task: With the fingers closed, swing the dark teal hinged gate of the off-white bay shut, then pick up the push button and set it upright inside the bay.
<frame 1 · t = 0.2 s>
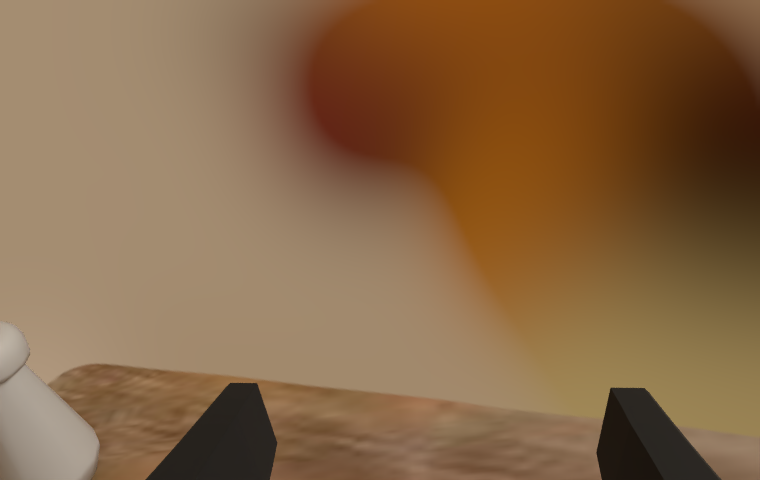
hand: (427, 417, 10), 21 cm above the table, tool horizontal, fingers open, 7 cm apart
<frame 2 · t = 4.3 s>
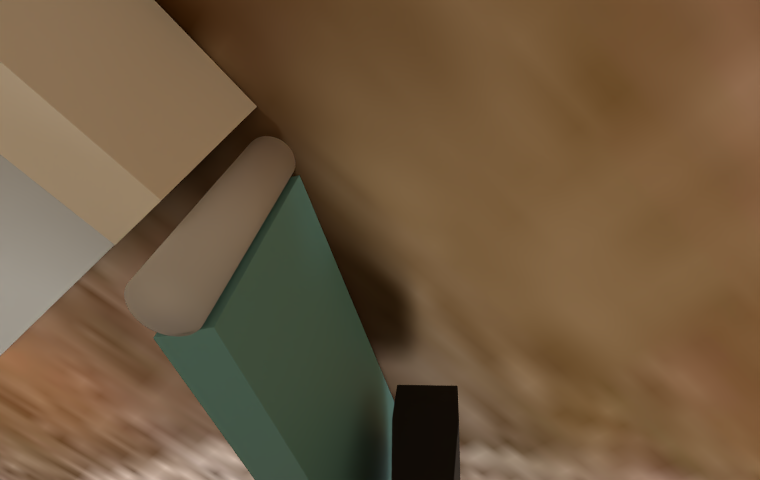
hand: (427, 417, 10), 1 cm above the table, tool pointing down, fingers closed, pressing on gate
gate: (343, 433, 9), point 2 cm above the table, hinge at 65.9°, touching gripper
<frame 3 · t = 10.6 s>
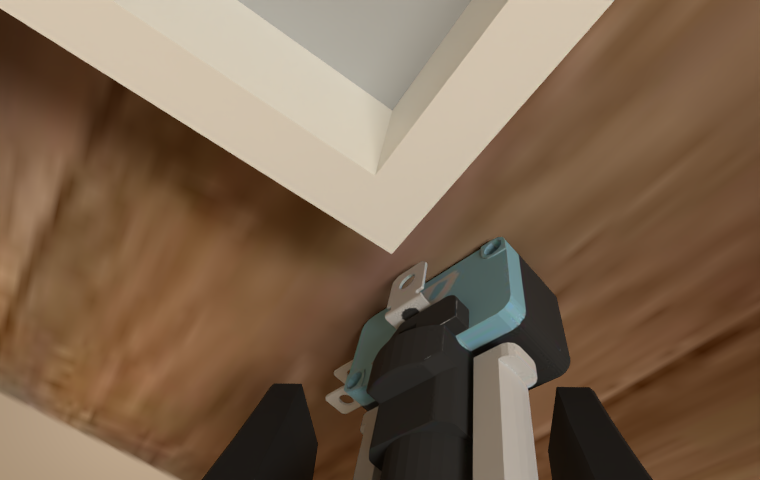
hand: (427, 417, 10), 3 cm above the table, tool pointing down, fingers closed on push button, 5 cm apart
push button: (430, 309, 13), on the table, touching gripper
when the fingers open (5 cm above the table, at t = 14.6 s): push button stays where it is, resting on bay.
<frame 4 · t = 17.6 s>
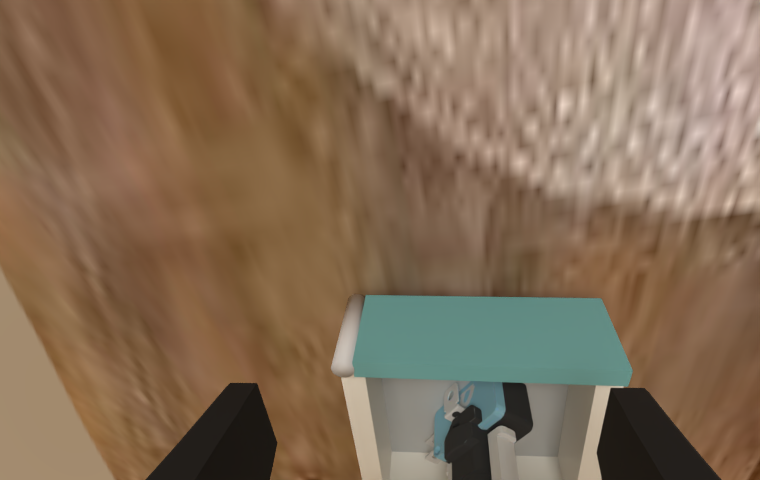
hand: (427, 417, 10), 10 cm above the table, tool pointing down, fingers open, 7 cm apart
gate: (472, 335, 20), point 2 cm above the table, hinge at -2.0°
bay: (472, 386, 25), on the table
push button: (466, 400, 25), resting on bay
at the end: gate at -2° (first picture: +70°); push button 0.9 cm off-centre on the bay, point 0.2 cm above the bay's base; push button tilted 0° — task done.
